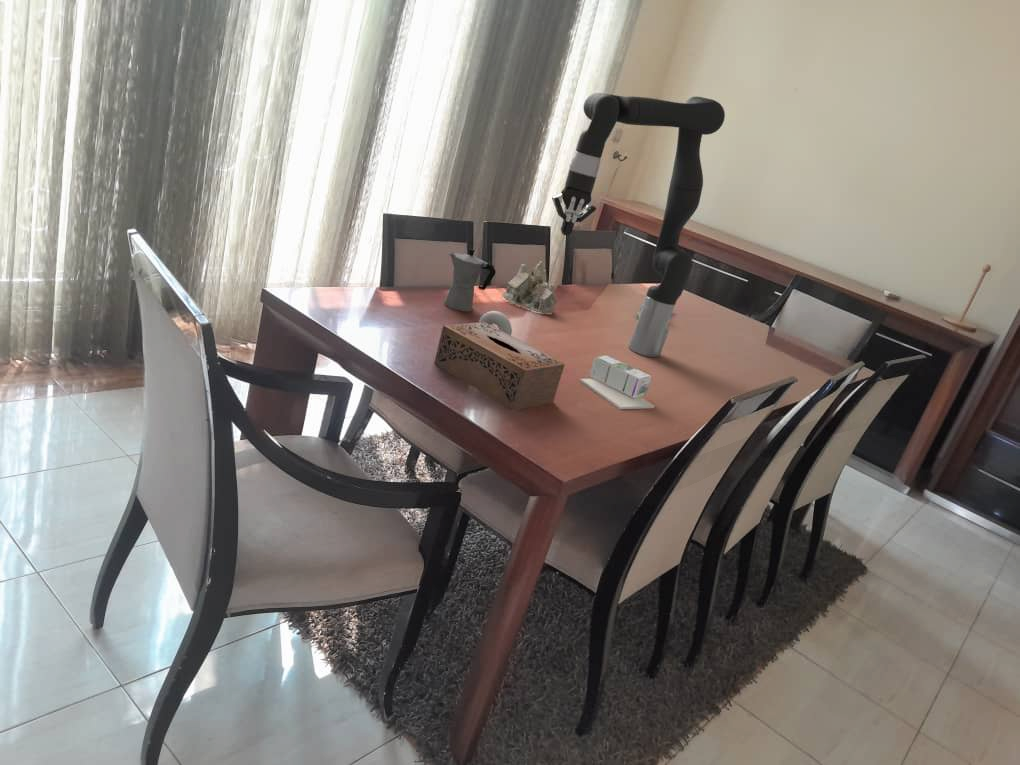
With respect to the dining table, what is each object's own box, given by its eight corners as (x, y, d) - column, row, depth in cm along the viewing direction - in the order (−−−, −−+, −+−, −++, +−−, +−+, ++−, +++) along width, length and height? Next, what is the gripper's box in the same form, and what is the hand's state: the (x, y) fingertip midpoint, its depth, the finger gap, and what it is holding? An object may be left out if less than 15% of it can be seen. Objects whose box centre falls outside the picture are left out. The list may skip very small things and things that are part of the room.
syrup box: (588, 376, 194) (634, 400, 187) (594, 356, 192) (641, 379, 184) (600, 373, 199) (645, 396, 191) (606, 353, 196) (652, 376, 189)
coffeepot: (432, 301, 222) (445, 243, 216) (445, 297, 231) (458, 241, 225) (478, 318, 219) (493, 260, 212) (489, 313, 227) (504, 256, 221)
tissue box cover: (552, 403, 172) (564, 364, 169) (513, 412, 161) (525, 370, 158) (474, 359, 186) (484, 321, 183) (433, 364, 175) (443, 325, 172)
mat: (579, 380, 191) (580, 378, 191) (612, 380, 198) (613, 378, 198) (619, 409, 179) (620, 407, 179) (653, 408, 186) (654, 405, 186)
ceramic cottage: (497, 293, 251) (511, 252, 245) (540, 303, 258) (555, 262, 252) (511, 312, 238) (526, 268, 232) (556, 321, 245) (571, 279, 239)
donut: (471, 341, 198) (480, 306, 194) (477, 339, 201) (487, 304, 197) (502, 355, 194) (512, 319, 190) (508, 353, 197) (518, 318, 193)
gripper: (564, 168, 193) (546, 233, 199) (610, 179, 197) (591, 243, 203) (556, 163, 199) (539, 226, 205) (600, 175, 204) (582, 236, 210)
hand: (565, 234), depth 204 cm, fingers closed
